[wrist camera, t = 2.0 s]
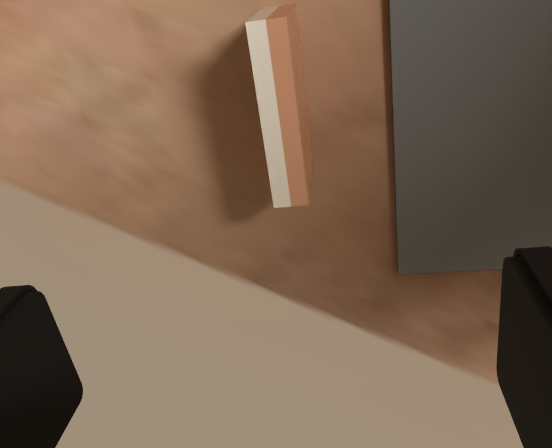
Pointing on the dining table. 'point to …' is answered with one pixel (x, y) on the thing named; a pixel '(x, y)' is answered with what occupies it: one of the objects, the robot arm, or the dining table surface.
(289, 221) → the dining table surface
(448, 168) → the mat
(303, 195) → the tile
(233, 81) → the dining table surface
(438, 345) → the dining table surface
